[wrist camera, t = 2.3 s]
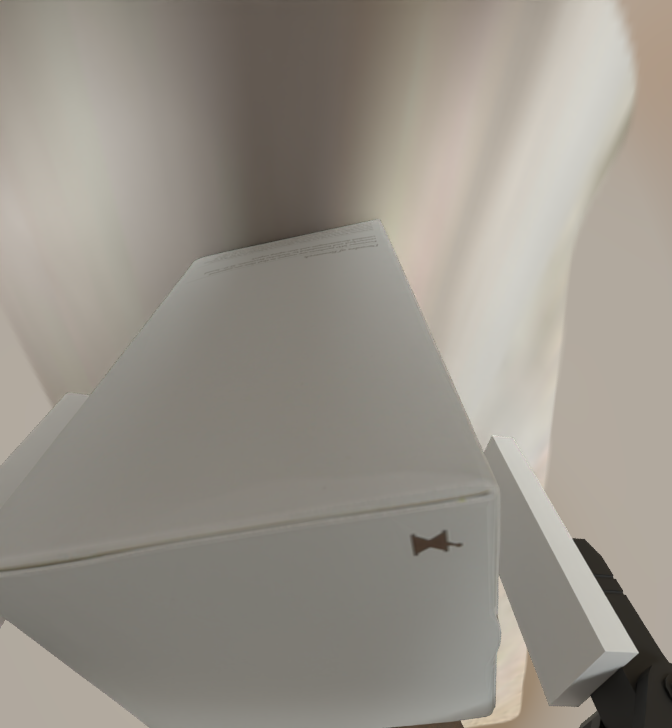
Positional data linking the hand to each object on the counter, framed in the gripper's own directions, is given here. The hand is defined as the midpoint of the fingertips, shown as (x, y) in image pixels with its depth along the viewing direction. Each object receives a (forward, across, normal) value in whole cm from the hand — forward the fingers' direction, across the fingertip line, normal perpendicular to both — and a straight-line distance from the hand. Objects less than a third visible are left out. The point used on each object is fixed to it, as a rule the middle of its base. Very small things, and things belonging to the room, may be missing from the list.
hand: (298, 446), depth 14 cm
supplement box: (+8, 0, 0) cm, 9 cm away
